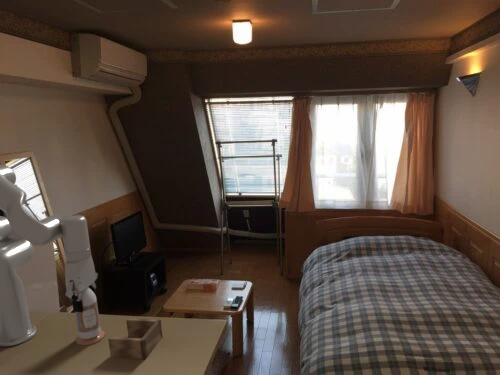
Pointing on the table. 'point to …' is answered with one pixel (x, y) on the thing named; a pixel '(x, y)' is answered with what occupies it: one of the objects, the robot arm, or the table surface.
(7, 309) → the robot arm
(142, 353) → the shelf bay
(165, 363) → the table surface
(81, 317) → the bath foam
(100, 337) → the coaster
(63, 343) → the table surface
